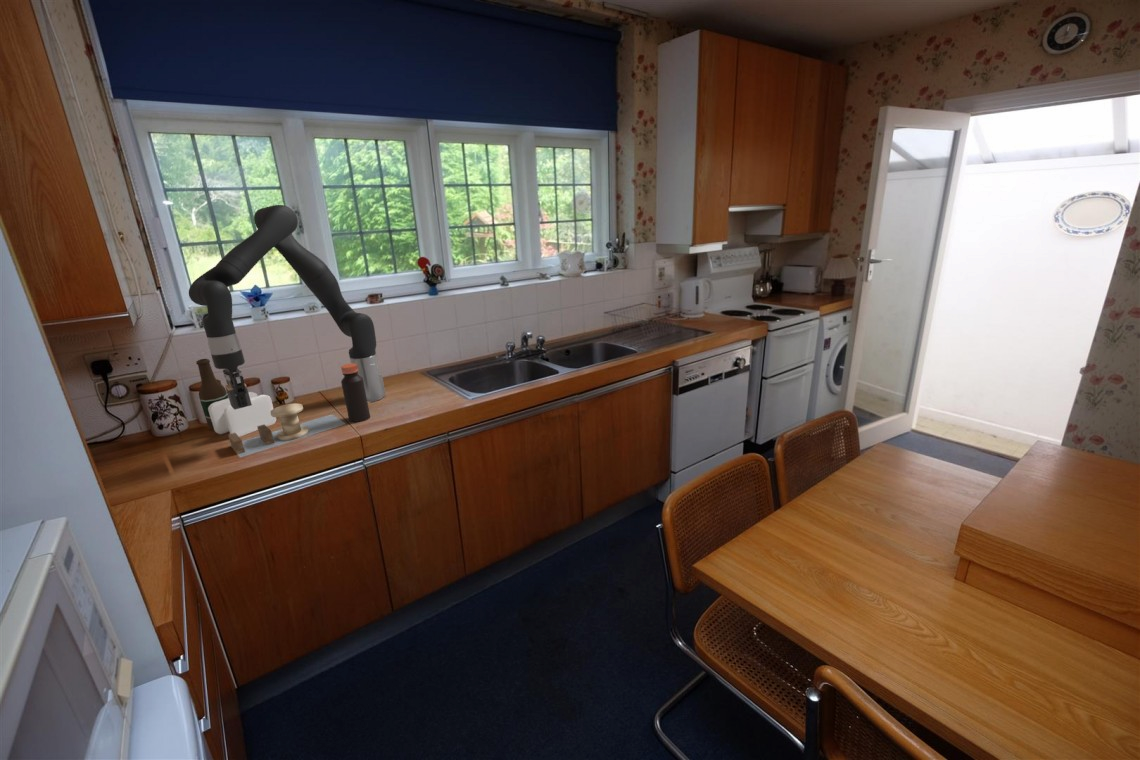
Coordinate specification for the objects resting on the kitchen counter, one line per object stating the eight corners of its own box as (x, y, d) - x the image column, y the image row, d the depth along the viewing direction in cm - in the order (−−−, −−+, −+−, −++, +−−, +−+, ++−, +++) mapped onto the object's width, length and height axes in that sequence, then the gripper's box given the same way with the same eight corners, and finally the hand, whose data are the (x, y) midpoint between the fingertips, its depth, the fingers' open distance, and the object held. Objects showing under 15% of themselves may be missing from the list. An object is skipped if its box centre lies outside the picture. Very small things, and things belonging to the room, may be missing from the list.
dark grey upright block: (248, 401, 152) (242, 381, 150) (251, 405, 149) (246, 384, 147) (231, 406, 149) (225, 385, 147) (234, 409, 146) (228, 388, 144)
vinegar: (371, 415, 174) (361, 361, 167) (370, 423, 168) (358, 367, 161) (351, 419, 172) (339, 364, 166) (348, 426, 166) (336, 369, 159)
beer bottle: (220, 421, 176) (200, 356, 168) (240, 421, 175) (221, 356, 167) (203, 430, 169) (182, 363, 161) (225, 430, 168) (204, 362, 160)
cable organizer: (232, 442, 158) (221, 409, 154) (215, 436, 164) (205, 404, 160) (278, 425, 170) (269, 393, 166) (261, 419, 176) (253, 389, 172)
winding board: (332, 416, 175) (332, 414, 175) (346, 426, 166) (346, 423, 166) (230, 447, 155) (229, 444, 154) (240, 460, 146) (239, 457, 146)
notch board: (267, 435, 160) (264, 424, 158) (274, 442, 154) (271, 431, 153) (231, 446, 153) (227, 434, 152) (237, 454, 148) (233, 442, 146)
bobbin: (303, 426, 165) (297, 401, 162) (312, 433, 159) (306, 407, 156) (273, 435, 159) (266, 409, 157) (282, 443, 153) (275, 416, 150)
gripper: (246, 351, 141) (261, 406, 147) (235, 343, 151) (249, 396, 157) (215, 357, 136) (232, 414, 142) (205, 349, 146) (221, 402, 152)
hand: (241, 404), depth 149 cm, fingers closed on dark grey upright block, 4 cm apart
